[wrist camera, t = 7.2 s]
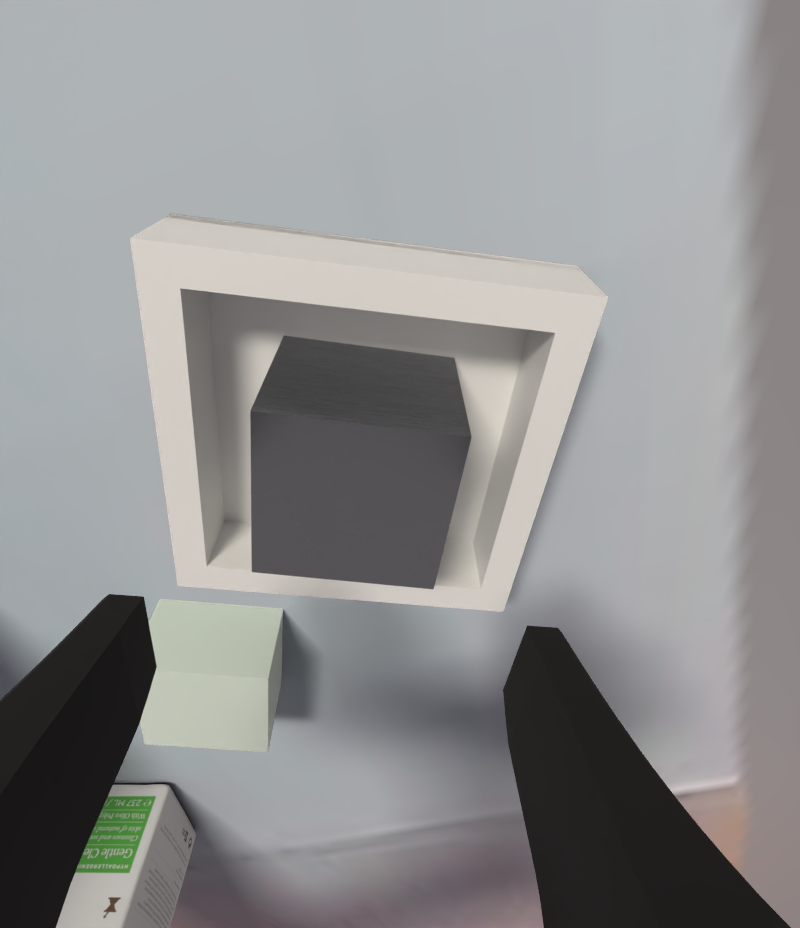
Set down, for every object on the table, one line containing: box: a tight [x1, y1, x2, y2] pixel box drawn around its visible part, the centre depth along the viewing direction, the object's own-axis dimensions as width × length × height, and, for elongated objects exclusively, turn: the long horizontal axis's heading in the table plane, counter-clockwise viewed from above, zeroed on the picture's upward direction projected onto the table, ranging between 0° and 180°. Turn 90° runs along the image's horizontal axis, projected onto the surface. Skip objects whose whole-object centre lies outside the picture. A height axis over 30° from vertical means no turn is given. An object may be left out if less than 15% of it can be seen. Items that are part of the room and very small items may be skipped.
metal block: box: [250, 336, 472, 589], centre depth 16 cm, size 5×5×4 cm
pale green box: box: [140, 599, 283, 752], centre depth 23 cm, size 5×5×4 cm
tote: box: [130, 214, 608, 612], centre depth 17 cm, size 11×11×3 cm
